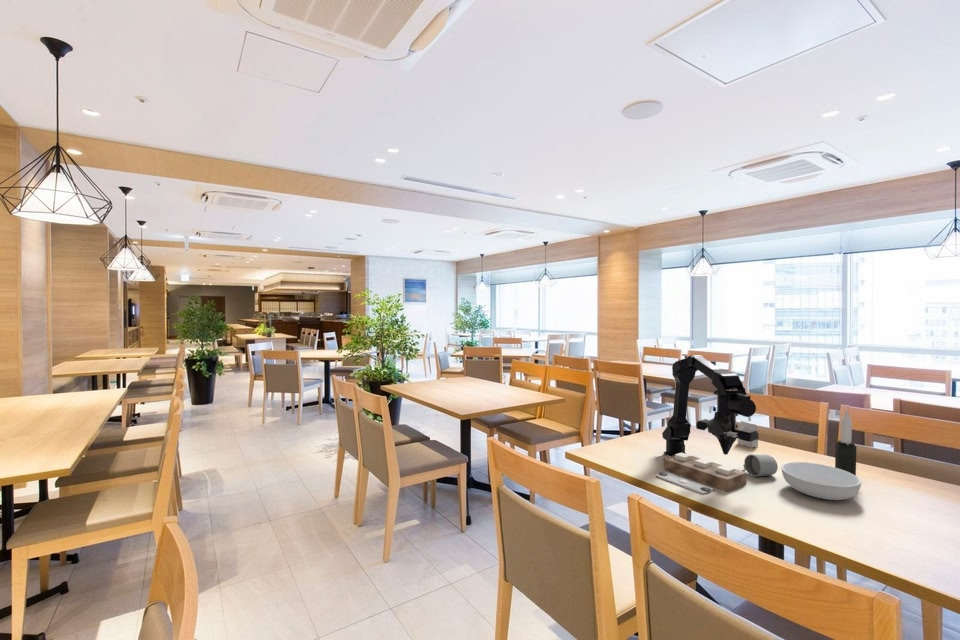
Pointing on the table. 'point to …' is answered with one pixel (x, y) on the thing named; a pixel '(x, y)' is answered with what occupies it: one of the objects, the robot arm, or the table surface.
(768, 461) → the ceramic mug
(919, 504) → the table surface
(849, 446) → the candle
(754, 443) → the grey angular block
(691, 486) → the pattern card
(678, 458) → the button
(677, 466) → the button board
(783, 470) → the serving bowl
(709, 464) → the middle button
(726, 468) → the button
